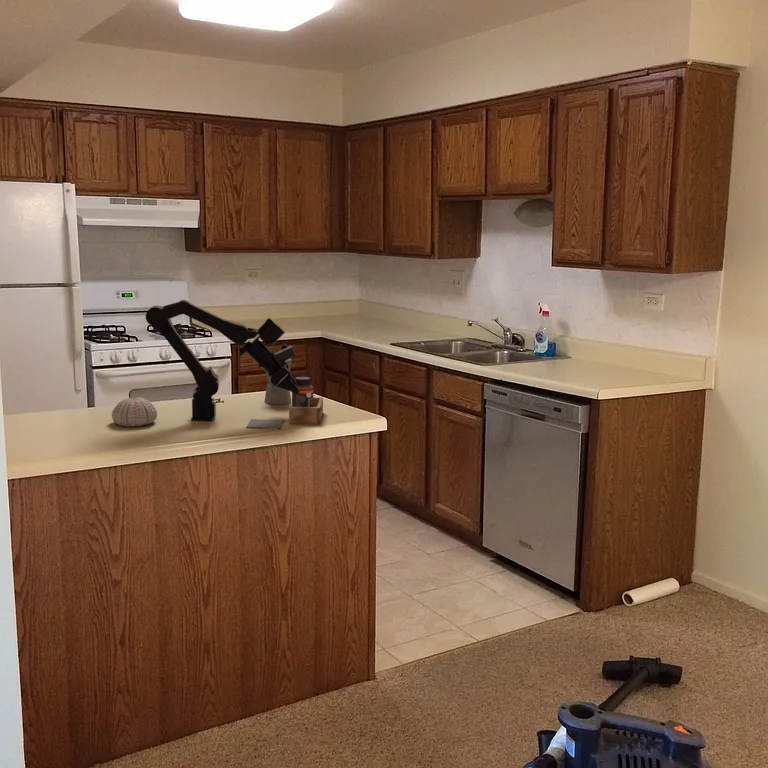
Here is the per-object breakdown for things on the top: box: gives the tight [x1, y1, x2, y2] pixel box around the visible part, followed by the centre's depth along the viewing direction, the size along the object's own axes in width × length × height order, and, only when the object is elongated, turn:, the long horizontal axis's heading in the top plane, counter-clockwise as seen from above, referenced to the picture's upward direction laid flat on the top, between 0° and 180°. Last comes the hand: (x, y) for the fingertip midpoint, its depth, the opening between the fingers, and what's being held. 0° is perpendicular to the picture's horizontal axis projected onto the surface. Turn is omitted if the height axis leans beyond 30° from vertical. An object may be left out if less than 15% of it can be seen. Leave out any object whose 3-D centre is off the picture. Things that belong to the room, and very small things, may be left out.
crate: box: [288, 396, 324, 425], centre depth 265 cm, size 10×16×5 cm, turn 1°
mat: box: [245, 418, 284, 429], centre depth 254 cm, size 10×10×1 cm
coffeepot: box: [264, 349, 293, 405], centre depth 286 cm, size 15×9×18 cm, turn 15°
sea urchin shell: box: [111, 396, 158, 428], centre depth 251 cm, size 13×14×8 cm
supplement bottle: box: [291, 376, 314, 407], centre depth 264 cm, size 7×7×13 cm
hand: (297, 389), depth 263 cm, fingers open, 9 cm apart
